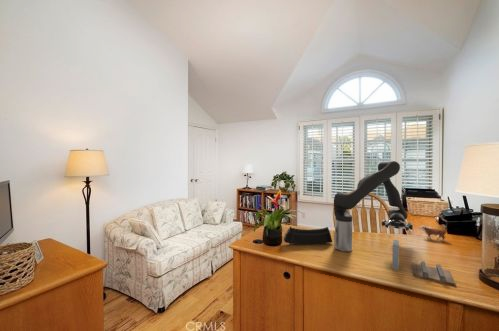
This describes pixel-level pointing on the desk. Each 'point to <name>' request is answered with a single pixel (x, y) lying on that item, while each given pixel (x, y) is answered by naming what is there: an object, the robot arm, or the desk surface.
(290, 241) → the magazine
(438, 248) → the desk surface
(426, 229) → the bull figurine
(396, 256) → the door panel
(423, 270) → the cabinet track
